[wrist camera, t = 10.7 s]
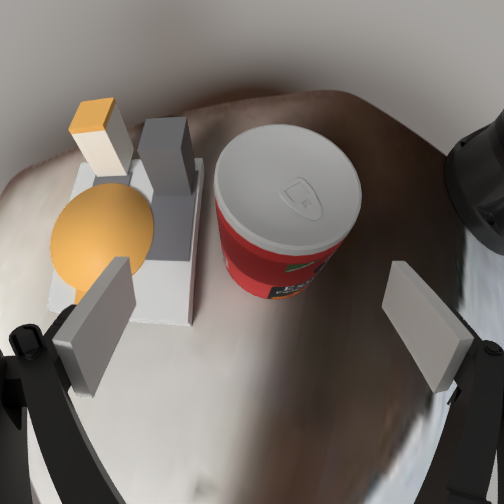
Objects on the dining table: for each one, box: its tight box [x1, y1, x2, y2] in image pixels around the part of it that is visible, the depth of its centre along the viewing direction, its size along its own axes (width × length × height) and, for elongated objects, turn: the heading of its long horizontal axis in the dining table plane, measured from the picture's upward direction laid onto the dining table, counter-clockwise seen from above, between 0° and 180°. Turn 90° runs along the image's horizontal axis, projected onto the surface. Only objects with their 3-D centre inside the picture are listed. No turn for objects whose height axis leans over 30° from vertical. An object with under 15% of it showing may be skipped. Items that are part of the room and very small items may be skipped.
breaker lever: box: [69, 97, 134, 177], centre depth 23 cm, size 3×3×7 cm
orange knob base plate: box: [47, 117, 205, 326], centre depth 22 cm, size 13×14×8 cm
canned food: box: [214, 124, 362, 300], centre depth 21 cm, size 8×8×11 cm
